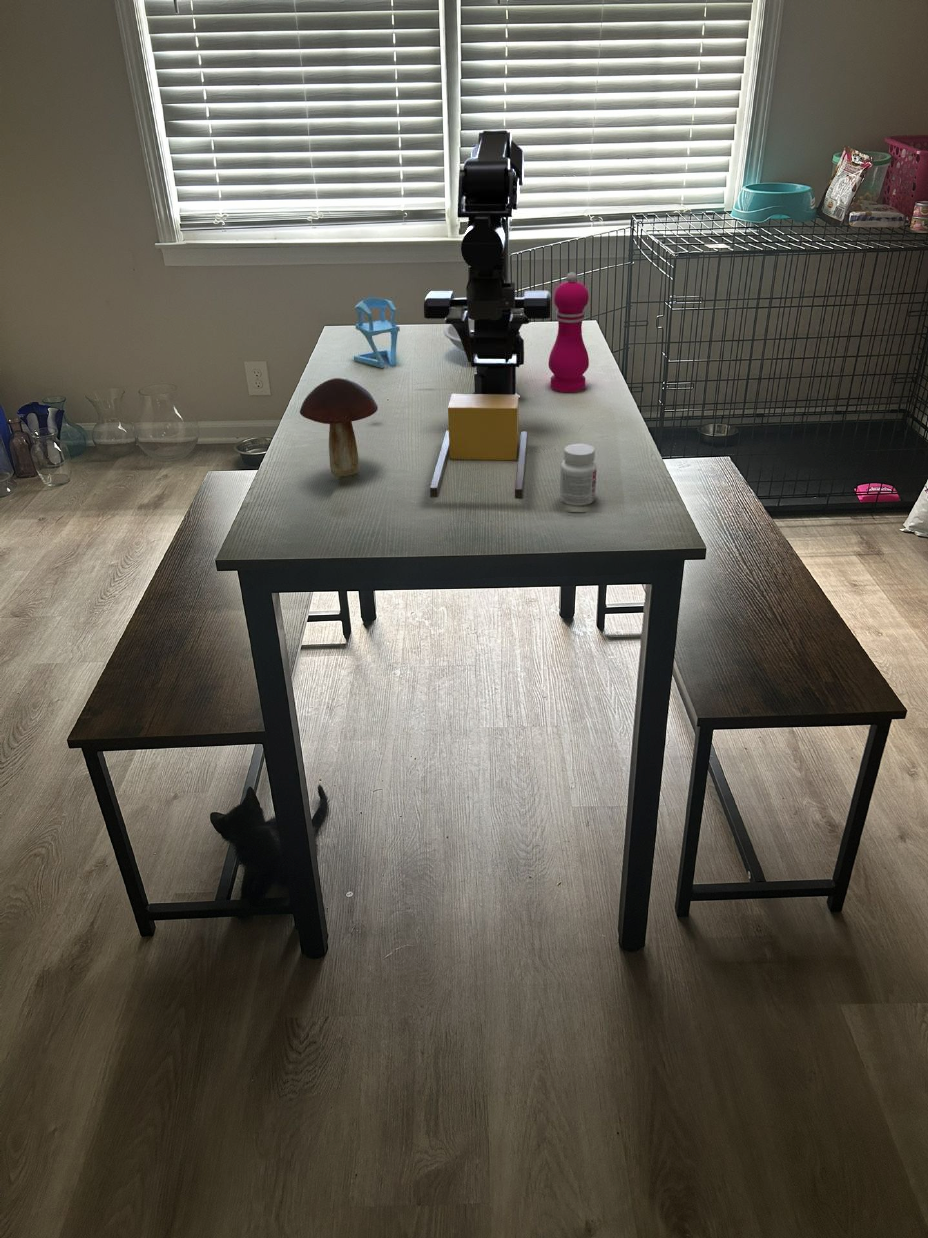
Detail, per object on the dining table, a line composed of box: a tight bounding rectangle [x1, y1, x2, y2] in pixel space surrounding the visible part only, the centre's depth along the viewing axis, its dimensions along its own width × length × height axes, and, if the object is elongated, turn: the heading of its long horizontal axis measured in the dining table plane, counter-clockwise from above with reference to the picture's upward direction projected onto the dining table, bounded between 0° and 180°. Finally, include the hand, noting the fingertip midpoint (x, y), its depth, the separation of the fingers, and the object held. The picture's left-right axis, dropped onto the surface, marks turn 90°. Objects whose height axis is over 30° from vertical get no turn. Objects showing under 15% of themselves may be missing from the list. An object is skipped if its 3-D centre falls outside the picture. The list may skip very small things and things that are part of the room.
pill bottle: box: [559, 443, 598, 515], centre depth 127 cm, size 5×5×8 cm
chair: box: [353, 296, 401, 369], centre depth 184 cm, size 8×8×12 cm
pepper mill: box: [547, 271, 590, 393], centre depth 167 cm, size 7×7×20 cm
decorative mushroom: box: [299, 377, 379, 480], centre depth 135 cm, size 11×11×15 cm
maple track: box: [429, 430, 529, 499], centre depth 138 cm, size 22×14×3 cm, turn 175°
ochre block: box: [447, 393, 520, 461], centre depth 141 cm, size 6×10×8 cm, turn 85°
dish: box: [443, 318, 477, 356], centre depth 189 cm, size 18×14×5 cm
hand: (488, 361), depth 146 cm, fingers open, 5 cm apart
